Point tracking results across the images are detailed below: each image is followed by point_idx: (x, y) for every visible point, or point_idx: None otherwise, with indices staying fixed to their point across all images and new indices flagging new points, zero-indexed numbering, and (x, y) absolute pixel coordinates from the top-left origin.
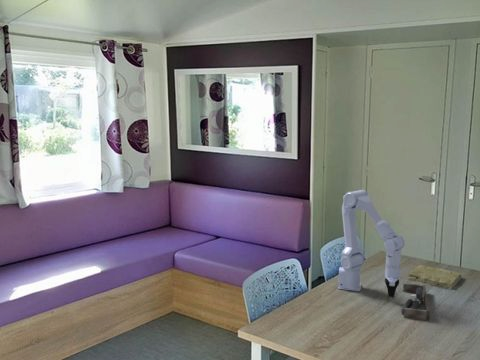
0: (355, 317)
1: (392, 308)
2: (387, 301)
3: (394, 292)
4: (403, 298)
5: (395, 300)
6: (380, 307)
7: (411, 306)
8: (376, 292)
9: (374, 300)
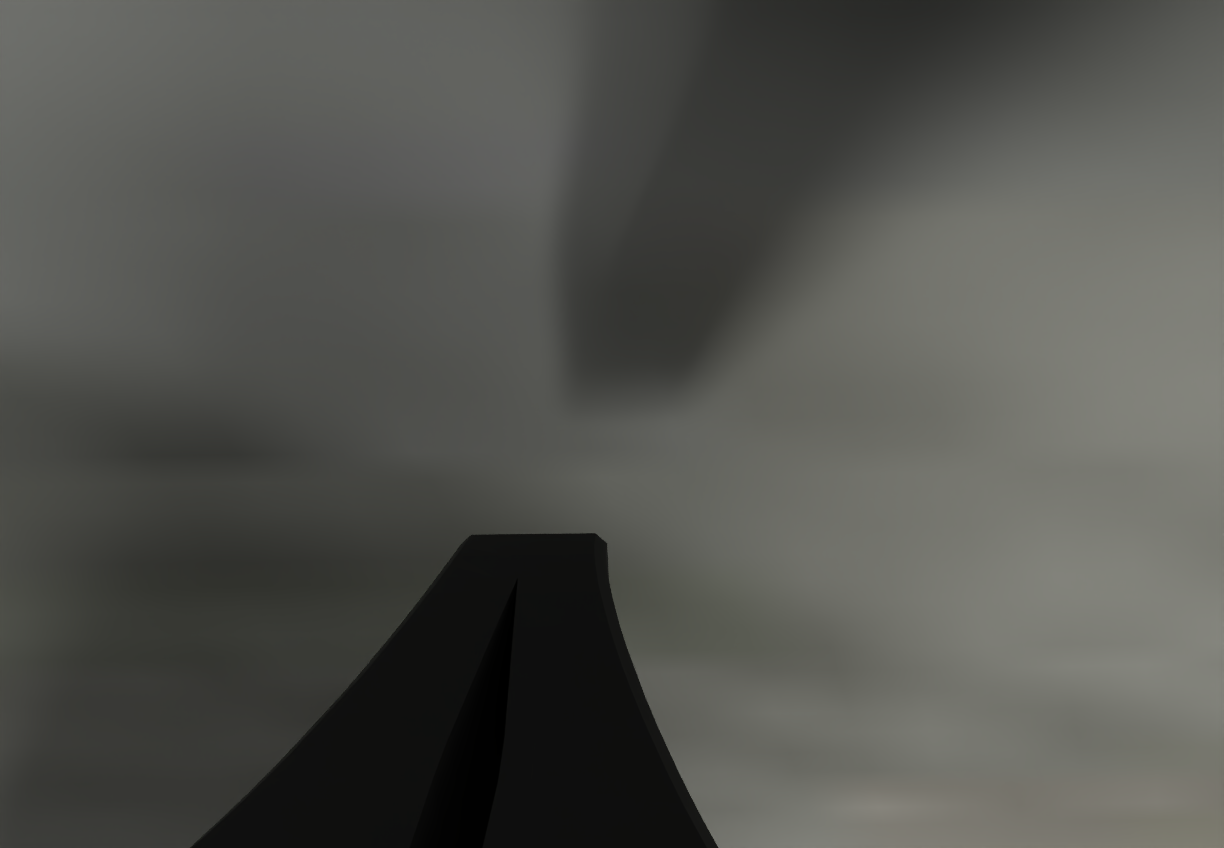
0: None
1: (1152, 431)
2: None
3: (631, 684)
4: (26, 56)
5: (394, 351)
6: (1102, 722)
7: None
8: (56, 815)
9: None
